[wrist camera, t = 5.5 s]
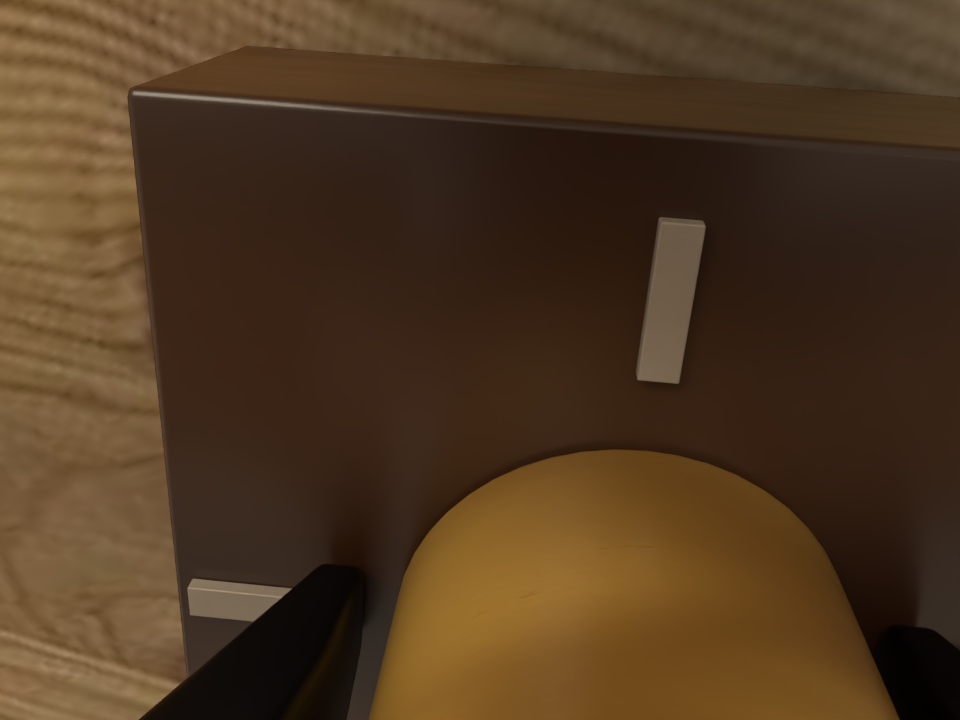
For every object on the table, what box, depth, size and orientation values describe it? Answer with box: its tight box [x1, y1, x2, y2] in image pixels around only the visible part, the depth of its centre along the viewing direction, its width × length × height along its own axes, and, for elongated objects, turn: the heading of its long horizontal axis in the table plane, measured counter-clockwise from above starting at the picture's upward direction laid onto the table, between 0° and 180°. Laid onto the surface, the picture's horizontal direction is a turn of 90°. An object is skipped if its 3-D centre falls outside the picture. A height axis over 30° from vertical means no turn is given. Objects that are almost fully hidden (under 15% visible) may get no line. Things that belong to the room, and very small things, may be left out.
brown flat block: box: [128, 46, 960, 720], centre depth 10 cm, size 10×9×3 cm
